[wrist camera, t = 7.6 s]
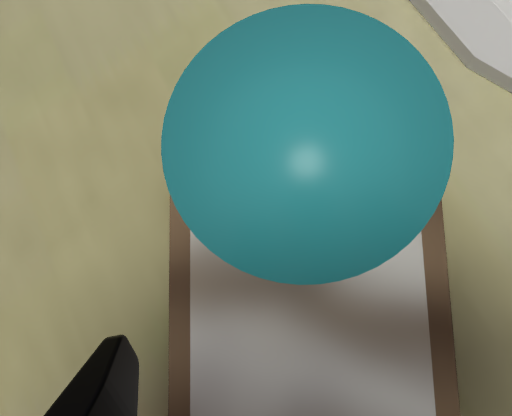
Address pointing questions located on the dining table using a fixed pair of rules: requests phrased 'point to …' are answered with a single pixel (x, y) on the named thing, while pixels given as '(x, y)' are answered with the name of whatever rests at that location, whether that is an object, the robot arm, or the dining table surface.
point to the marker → (307, 144)
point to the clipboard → (311, 336)
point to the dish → (475, 34)
